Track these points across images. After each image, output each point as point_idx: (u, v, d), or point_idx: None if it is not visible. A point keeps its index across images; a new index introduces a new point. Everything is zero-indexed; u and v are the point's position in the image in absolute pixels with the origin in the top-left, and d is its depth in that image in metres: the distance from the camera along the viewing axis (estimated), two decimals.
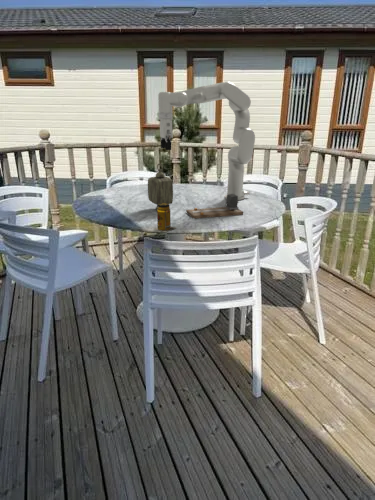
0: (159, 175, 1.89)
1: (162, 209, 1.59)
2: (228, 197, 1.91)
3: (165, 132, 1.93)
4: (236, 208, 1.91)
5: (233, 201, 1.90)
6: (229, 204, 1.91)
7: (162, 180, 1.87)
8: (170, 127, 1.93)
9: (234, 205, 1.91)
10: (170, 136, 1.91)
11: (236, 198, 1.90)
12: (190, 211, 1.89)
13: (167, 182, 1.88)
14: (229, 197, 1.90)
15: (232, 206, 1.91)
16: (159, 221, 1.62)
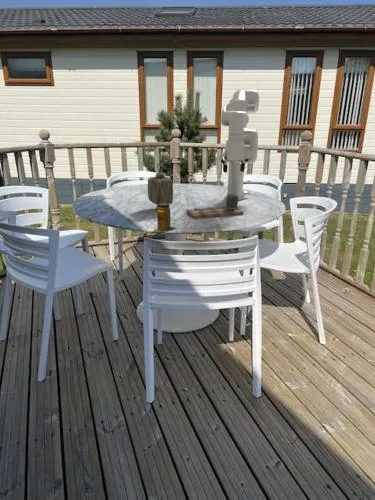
0: (159, 175, 1.89)
1: (162, 209, 1.59)
2: (228, 197, 1.91)
3: (244, 154, 1.83)
4: (236, 208, 1.91)
5: (233, 201, 1.90)
6: (229, 204, 1.91)
7: (162, 180, 1.87)
8: None
9: (234, 205, 1.91)
10: None
11: (236, 198, 1.90)
12: (190, 211, 1.89)
13: (167, 182, 1.88)
14: (229, 197, 1.90)
15: (232, 206, 1.91)
16: (159, 221, 1.62)
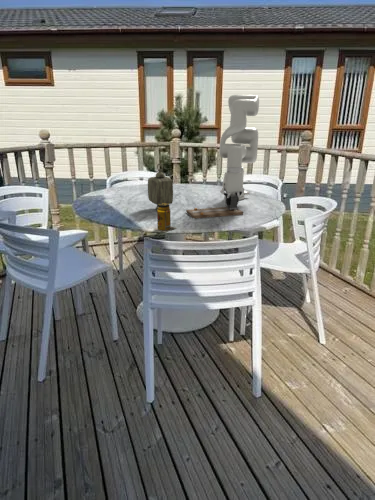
0: (159, 175, 1.89)
1: (162, 209, 1.60)
2: None
3: None
4: (236, 208, 1.91)
5: (233, 201, 1.90)
6: None
7: (162, 180, 1.87)
8: None
9: (234, 205, 1.91)
10: (243, 191, 1.93)
11: (236, 198, 1.90)
12: (190, 211, 1.89)
13: (167, 182, 1.88)
14: (229, 197, 1.90)
15: (232, 206, 1.91)
16: (159, 221, 1.62)
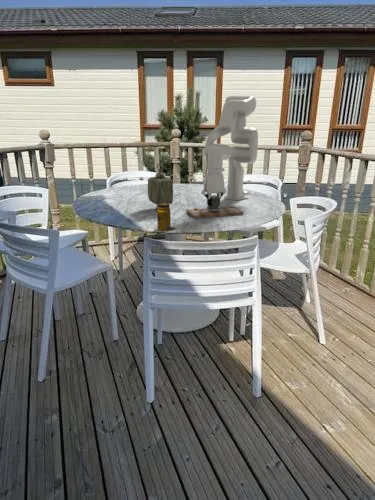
0: (159, 175, 1.89)
1: (162, 209, 1.59)
2: None
3: (223, 189, 1.87)
4: (217, 209, 1.88)
5: (214, 202, 1.87)
6: None
7: (162, 180, 1.87)
8: None
9: (215, 206, 1.88)
10: (224, 192, 1.89)
11: (217, 199, 1.87)
12: (190, 211, 1.89)
13: (167, 182, 1.88)
14: None
15: (213, 207, 1.87)
16: (159, 221, 1.62)
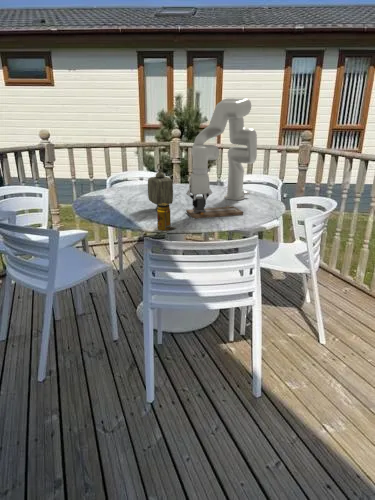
0: (159, 175, 1.89)
1: (162, 209, 1.60)
2: None
3: None
4: (203, 211, 1.86)
5: (200, 203, 1.84)
6: None
7: (162, 180, 1.87)
8: None
9: (201, 207, 1.85)
10: (210, 193, 1.87)
11: (203, 200, 1.84)
12: (190, 211, 1.89)
13: (167, 182, 1.88)
14: (196, 199, 1.85)
15: (199, 209, 1.85)
16: (159, 221, 1.62)
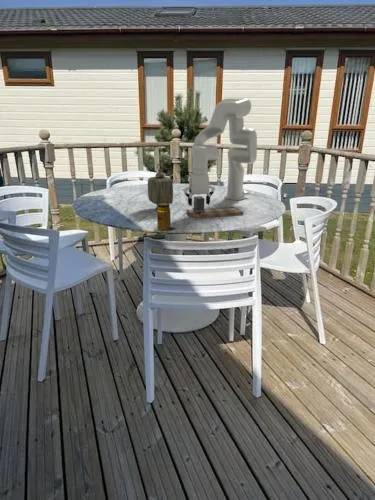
0: (159, 175, 1.89)
1: (162, 209, 1.60)
2: (195, 199, 1.86)
3: (209, 187, 1.84)
4: (203, 211, 1.86)
5: (200, 203, 1.84)
6: (196, 206, 1.86)
7: (162, 180, 1.87)
8: None
9: (201, 207, 1.85)
10: None
11: (203, 200, 1.84)
12: (190, 211, 1.89)
13: (167, 182, 1.88)
14: (196, 199, 1.85)
15: (199, 209, 1.85)
16: (159, 221, 1.62)
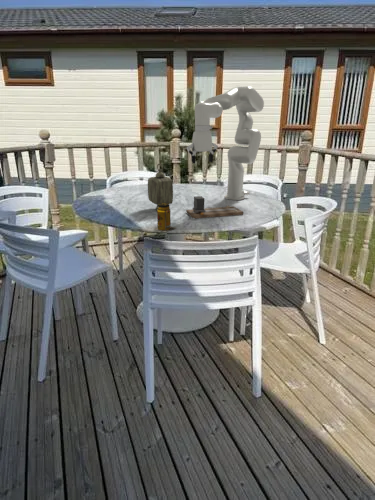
0: (159, 175, 1.89)
1: (162, 209, 1.59)
2: (195, 199, 1.86)
3: (211, 144, 1.88)
4: (203, 211, 1.86)
5: (200, 203, 1.84)
6: (196, 206, 1.86)
7: (162, 180, 1.87)
8: None
9: (201, 207, 1.85)
10: (216, 147, 1.91)
11: (203, 200, 1.84)
12: (190, 211, 1.89)
13: (167, 182, 1.88)
14: (196, 199, 1.85)
15: (199, 209, 1.85)
16: (159, 221, 1.62)
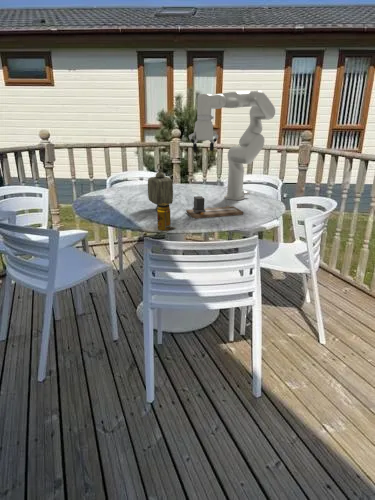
0: (159, 175, 1.89)
1: (162, 209, 1.60)
2: (195, 199, 1.86)
3: (213, 134, 1.97)
4: (203, 211, 1.86)
5: (200, 203, 1.84)
6: (196, 206, 1.86)
7: (162, 180, 1.87)
8: None
9: (201, 207, 1.85)
10: None
11: (203, 200, 1.84)
12: (190, 211, 1.89)
13: (167, 182, 1.88)
14: (196, 199, 1.85)
15: (199, 209, 1.85)
16: (159, 221, 1.62)
